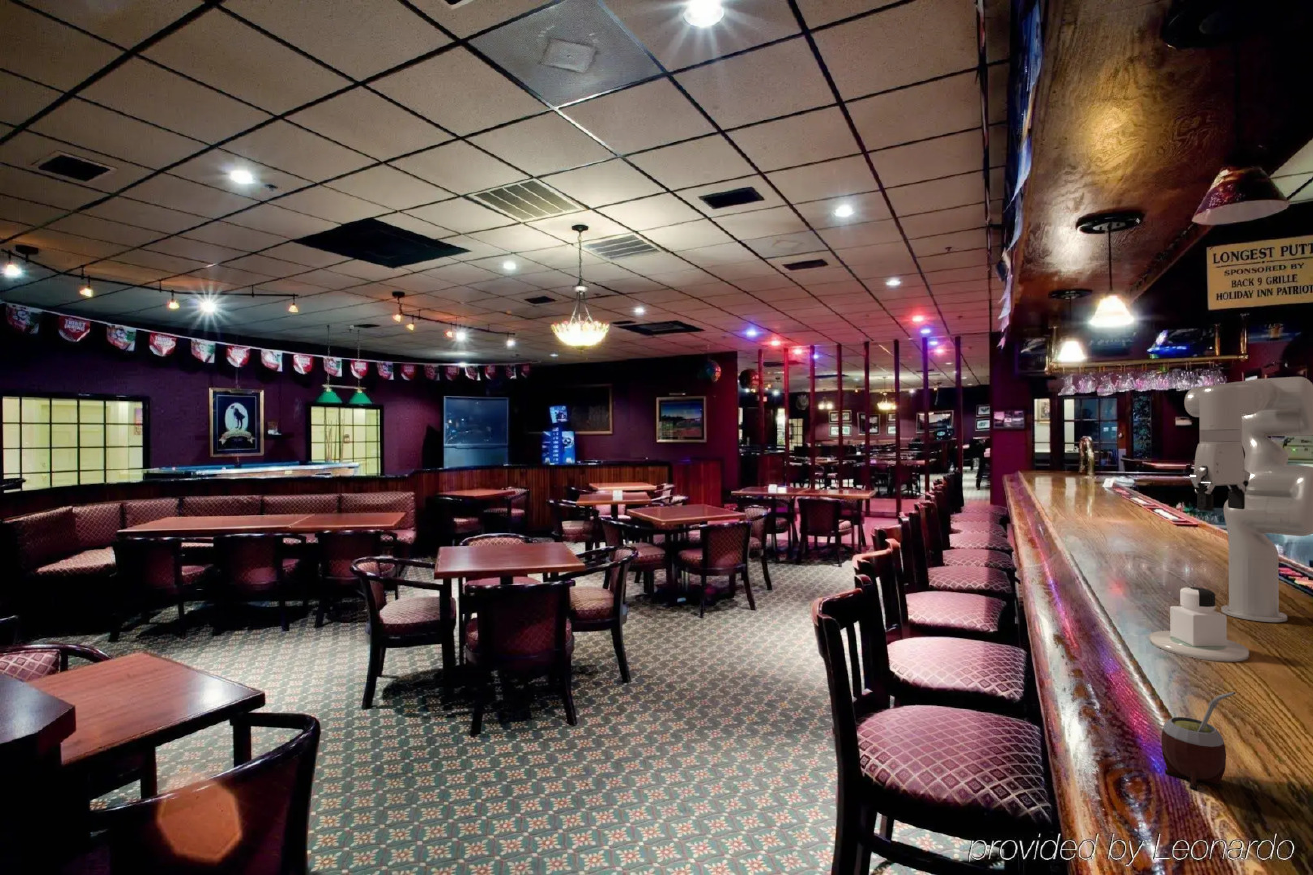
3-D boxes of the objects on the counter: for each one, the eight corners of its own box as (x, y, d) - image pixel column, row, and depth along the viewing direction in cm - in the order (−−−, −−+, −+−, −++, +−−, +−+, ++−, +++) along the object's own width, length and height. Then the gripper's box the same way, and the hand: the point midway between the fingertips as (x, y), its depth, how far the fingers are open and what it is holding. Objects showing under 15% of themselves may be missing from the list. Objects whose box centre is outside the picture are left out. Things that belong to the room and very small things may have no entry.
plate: (1153, 631, 155) (1153, 625, 155) (1248, 646, 143) (1248, 640, 143) (1146, 649, 142) (1146, 643, 142) (1249, 667, 131) (1249, 661, 131)
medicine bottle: (1201, 636, 146) (1201, 585, 146) (1227, 647, 139) (1227, 593, 139) (1169, 636, 146) (1169, 585, 146) (1193, 646, 139) (1193, 592, 139)
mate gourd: (1162, 762, 95) (1161, 663, 95) (1232, 780, 90) (1232, 675, 90) (1161, 784, 89) (1160, 678, 89) (1236, 804, 84) (1235, 692, 84)
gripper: (1230, 436, 155) (1230, 506, 156) (1175, 438, 151) (1176, 509, 152) (1265, 437, 148) (1266, 509, 148) (1209, 438, 144) (1210, 513, 144)
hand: (1220, 509), depth 150 cm, fingers open, 9 cm apart
